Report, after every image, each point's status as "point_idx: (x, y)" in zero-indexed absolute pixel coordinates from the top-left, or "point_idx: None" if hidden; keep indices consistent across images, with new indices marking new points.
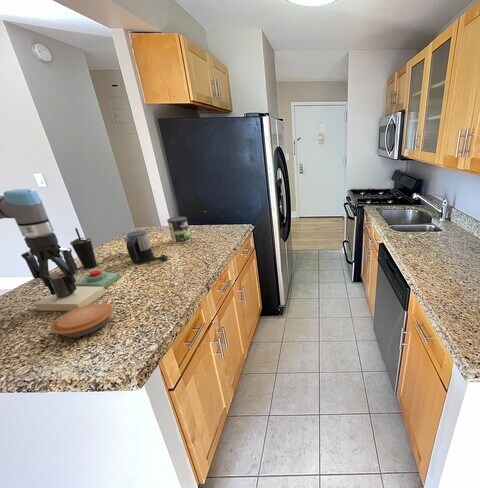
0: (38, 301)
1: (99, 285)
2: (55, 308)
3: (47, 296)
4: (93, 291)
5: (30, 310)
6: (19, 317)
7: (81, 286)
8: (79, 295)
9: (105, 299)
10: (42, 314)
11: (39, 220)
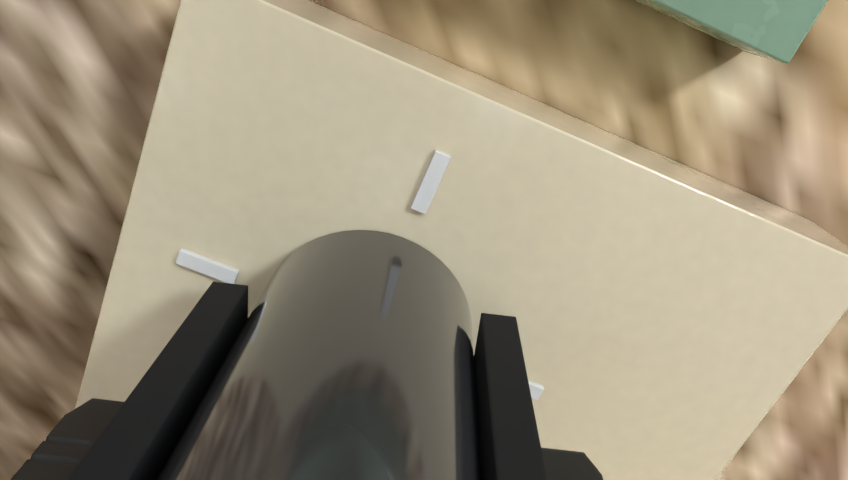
0: (92, 396)
1: (741, 43)
2: None
3: (117, 286)
4: (743, 377)
5: (37, 333)
6: (30, 438)
7: (501, 110)
8: (577, 426)
9: (815, 392)
10: None
11: None
